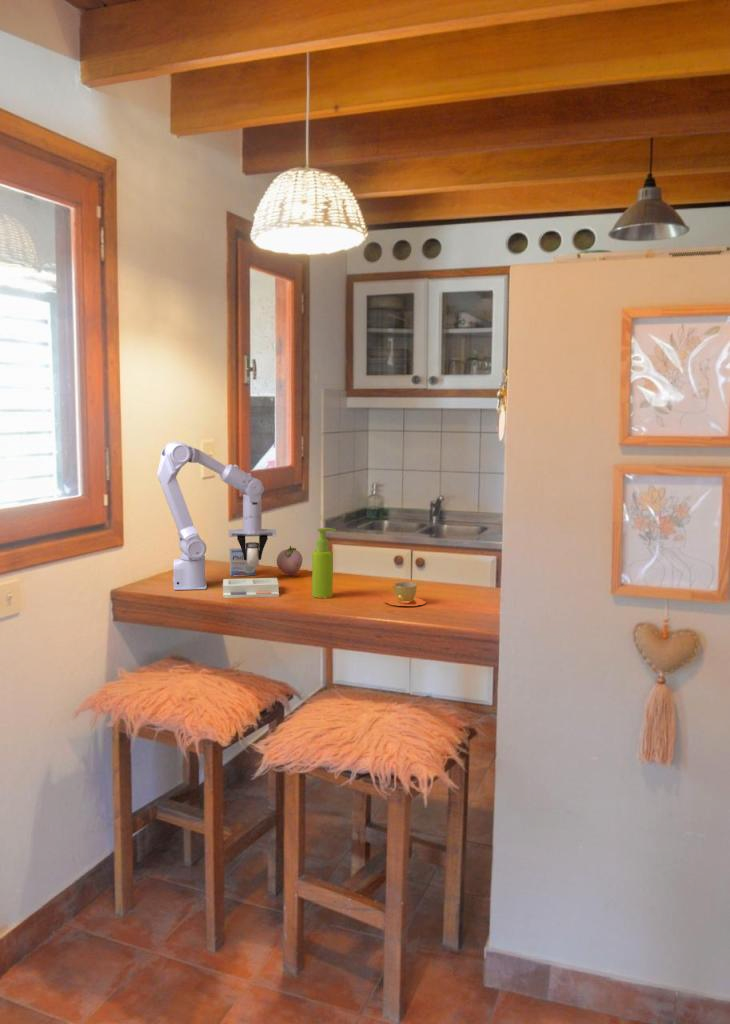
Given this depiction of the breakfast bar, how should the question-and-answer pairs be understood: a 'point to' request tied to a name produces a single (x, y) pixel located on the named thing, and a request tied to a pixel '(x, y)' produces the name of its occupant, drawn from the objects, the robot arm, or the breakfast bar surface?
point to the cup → (405, 591)
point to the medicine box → (239, 563)
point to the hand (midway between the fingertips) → (252, 559)
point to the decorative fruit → (289, 561)
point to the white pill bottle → (252, 554)
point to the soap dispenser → (322, 567)
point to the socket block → (250, 588)
